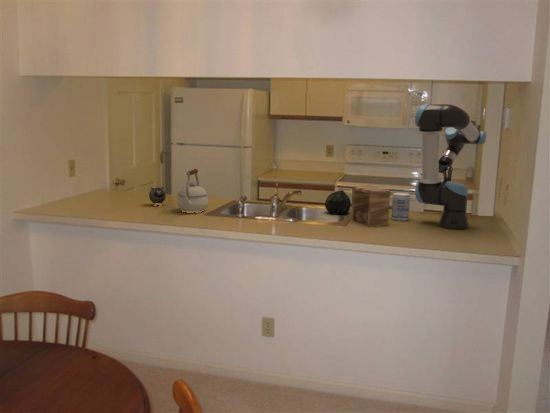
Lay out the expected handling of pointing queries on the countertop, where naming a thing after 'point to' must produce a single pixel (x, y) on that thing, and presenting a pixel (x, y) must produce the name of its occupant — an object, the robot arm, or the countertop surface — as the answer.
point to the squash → (338, 202)
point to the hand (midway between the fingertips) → (428, 187)
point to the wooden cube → (370, 205)
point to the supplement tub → (400, 206)
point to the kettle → (192, 195)
